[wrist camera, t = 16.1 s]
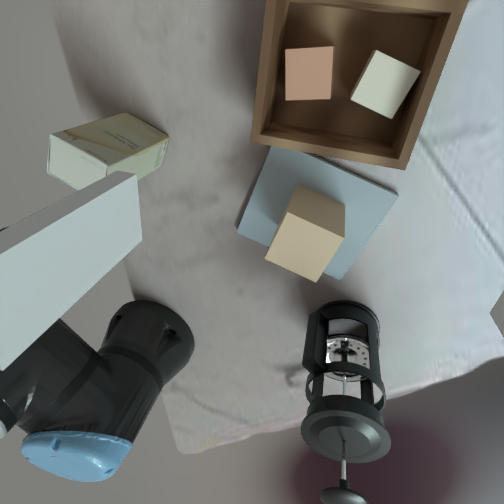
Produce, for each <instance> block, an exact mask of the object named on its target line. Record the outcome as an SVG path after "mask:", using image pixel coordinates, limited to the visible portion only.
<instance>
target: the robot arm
mask: <svg viewBox="0 0 504 504" xmlns="http://www.w3.org/2000/svg"><path fill="white" fill-rule="evenodd" d="M141 241H142V231H141V220H140V209H139V197H138V186H137V175H136V174H134V173H128V172H123V171H115V172H113V173H111V174H109V175H107V176H105V177H104V178H102V179H100V180H98V181H96V182H94V183H92V184H90V185H88V186H86V187H84V188H83V189H81V190H79V191H77V192H75V193H73V194H71V195H69V196H67V197H65V198H64V199H62V200H60V201H58V202H56V203H54V204H52V205H50V206H49V207H46V208H44V209H42V210H41V211H39V212H37V213H35V214H33V215H31V216H29V217H27V218H26V219H24V220H22V221H20V222H18V223H16V224H14V225H12V226H10V227H6V228H3V229H1V230H0V438H3V437H4V436H5V435H6V434H7V432H9V430H10V429H11V428H12V427H13V426H14V425H15V424H16V425H17V426H19V427H20V428H21V429H23V430H24V431H25V432H26V433H27V434H28V435H27V436H26V437H25V438H24V439H23V443H22V445H21V453H22V454H23V455H24V456H26V458H27V460H28V461H30V462H31V463H33V464H34V465H36V466H38V467H40V468H41V469H43V470H46V471H48V472H50V473H53V474H55V475H58V476H61V477H64V478H68V479H72V480H76V481H85V482H98V481H101V480H105V479H107V478H109V477H110V476H112V475H113V473H114V472H116V470H117V469H118V467H119V466H120V464H121V462H122V461H123V459H124V458H125V456H126V454H127V453H128V451H130V449H131V448H132V446H133V445H132V444H133V442H134V440H135V438H136V437H137V435H138V433H139V431H140V429H141V427H142V425H143V423H144V421H145V420H146V418H147V415H148V414H149V412H150V410H151V408H152V406H153V405H154V403H155V401H156V399H157V397H158V395H159V393H160V392H161V390H162V388H163V386H164V385H165V384H166V383H167V382H169V381H170V380H171V379H172V378H173V377H174V376H175V375H176V374H177V373H178V372H179V371H180V370H181V369H183V368H184V367H185V365H186V364H187V363H188V361H189V359H190V357H191V355H192V353H193V351H194V338H193V335H192V333H191V331H190V329H189V327H188V326H187V325H186V323H185V322H184V321H183V320H182V319H181V318H180V317H179V316H178V315H177V314H175V313H174V312H172V311H171V310H169V309H168V308H166V307H164V306H161V305H159V304H156V303H153V302H149V301H132V302H129V303H127V304H124V305H123V306H122V307H121V308H120V309H119V310H118V311H117V312H116V313H115V315H114V316H113V317H112V319H111V321H110V323H109V326H108V329H107V331H106V334H105V337H104V340H103V342H102V345H101V348H100V349H99V350H98V352H96V351H95V350H94V349H93V348H92V347H90V346H89V345H88V344H87V343H86V342H85V341H84V340H83V339H82V338H81V337H80V336H79V335H77V334H76V333H75V332H74V331H73V330H72V329H71V328H70V327H69V326H68V325H67V324H66V323H65V322H63V321H62V320H61V319H60V317H61V316H62V315H63V314H64V313H65V312H66V311H67V310H68V309H69V308H70V307H71V306H73V305H74V304H75V303H76V302H77V301H78V300H79V299H80V298H81V297H82V296H83V295H84V294H85V293H86V292H87V291H88V290H90V289H91V288H92V287H93V286H94V285H95V284H96V283H97V282H98V281H99V280H100V279H101V278H102V277H103V276H104V275H105V274H107V273H108V272H109V271H110V270H111V269H112V268H113V267H114V266H115V265H116V264H117V263H118V262H119V261H120V260H121V259H123V258H124V257H125V256H126V255H127V254H128V253H129V252H130V251H131V250H132V249H133V248H134V247H135V246H136V245H137V244H138V243H140V242H141ZM490 315H491V316H492V318H493V320H494V322H495V323H496V325H497V327H498V329H499V330H500V332H501V334H502V336H503V337H504V291H503V293H502V294H501V296H500V297H499V299H498V301H497V302H496V304H495V305H494V307H493V308H492V310H491V312H490Z"/></svg>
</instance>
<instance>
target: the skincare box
mask: <svg viewBox="0 0 504 504" xmlns="http://www.w3.org/2000/svg"><path fill="white" fill-rule="evenodd" d="M168 141H169V136H167V135H166V134H164V133H162V132H161V131H159V130H157V129H155V128H154V127H152V126H150V125H148V124H147V123H145V122H143V121H141V120H140V119H138V118H136V117H134V116H132V115H130V114H129V113H127V112H125V113H121V114H118V115H114V116H111V117H108V118H104V119H101V120H97V121H94V122H91V123H87V124H84V125H81V126H77V127H74V128H71V129H67V130H64V131H60V132H57V133H53V134H51V135H50V141H49V152H48V164H47V173H48V174H50V175H51V176H53V177H55V178H57V179H59V180H61V181H62V182H64V183H66V184H68V185H69V186H71V187H73V188H75V189H77V190H78V191H79V190H81V189H83V188H84V187H86V186H88V185H90V184H92V183H94V182H96V181H98V180H100V179H102V178H104V177H105V176H107V175H109V174H111V173H113V172H115V171H123V172H128V173H134V174H136V175H137V181H138V180H139V179H141V178H142V177H144V176H146V175H147V174H149V173H151V172H152V171H154V170H156V169H157V168H159V167H160V166H161V164H162V161H163V158H164V155H165V152H166V148H167V145H168Z"/></svg>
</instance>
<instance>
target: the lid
mask: <svg viewBox="0 0 504 504" xmlns="http://www.w3.org/2000/svg"><path fill="white" fill-rule="evenodd" d="M398 197H399V195H398V193H396V192H394V191H391V190H389V189H387V188H385V187H383V186H380V185H378V184H376V183H374V182H372V181H370V180H367V179H365V178H363V177H361V176H359V175H356V174H354V173H352V172H350V171H348V170H346V169H343V168H341V167H339V166H337V165H335V164H332V163H330V162H328V161H326V160H324V159H321V158H319V157H317V156H315V155H313V154H311V153H308V152H302V151H297V150H291V149H286V148H280V147H275V146H271V148H270V151H269V153H268V156H267V158H266V161H265V163H264V165H263V168H262V170H261V173H260V175H259V178H258V180H257V183H256V185H255V188H254V190H253V193H252V195H251V198H250V200H249V203H248V205H247V208H246V210H245V212H244V215H243V217H242V220H241V222H240V225H239V227H238V230H237V232H236V233H239V234H241V235H243V236H245V237H247V238H249V239H252V240H254V241H256V242H258V243H260V244H262V245H264V246H267V247H269V249H268V251H267V254H266V256H265V259H266V260H268V261H270V262H273V263H275V264H277V265H279V266H281V267H283V268H286V269H288V270H290V271H292V272H294V273H296V274H299V275H301V276H303V277H305V278H307V279H309V280H312V281H314V282H317V281H318V279H319V278H320V276H321V275H322V273H325V274H327V275H329V276H332V277H334V278H336V279H338V280H341V279H342V277H343V276H344V275H345V273H346V272H347V270H348V269H349V267H350V266H351V264H352V263H353V262H354V260H355V259H356V257H357V256H358V254H359V253H360V252H361V250H362V249H363V247H364V246H365V244H366V243H367V241H368V240H369V239H370V237H371V236H372V234H373V233H374V231H375V230H376V229H377V227H378V226H379V224H380V223H381V221H382V220H383V218H384V217H385V216H386V214H387V213H388V211H389V210H390V208H391V207H392V205H393V204H394V203H395V201H396V200H397V198H398Z"/></svg>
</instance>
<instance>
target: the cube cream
mask: <svg viewBox="0 0 504 504" xmlns="http://www.w3.org/2000/svg"><path fill="white" fill-rule="evenodd" d="M420 72H421V71H419V70H417V69H415V68H412V67H410V66H408V65H406V64H404V63H402V62H400V61H398V60H396V59H394V58H392V57H390V56H388V55H385V54H383V53H381V52H379V51H377V50H373V51H372V53H371V55H370V57H369V59H368V61H367V63H366V65H365V67H364V69H363V71H362V73H361V75H360V77H359V78H358V80H357V82H356V84H355V86H354V88H353V90H352V92H351V94H350V98H351V100H353V101H355V102H357V103H359V104H361V105H363V106H365V107H367V108H369V109H371V110H373V111H375V112H378V113H380V114H382V115H384V116H386V117H388V118H390V119H392V118H393V116H394V115H395V113H396V111H397V110H398V108H399V106H400V105H401V103H402V101H403V100H404V98H405V97H406V95H407V93H408V92H409V90H410V88H411V87H412V85H413V83H414V82H415V80H416V79H417V77H418V75H419V74H420Z"/></svg>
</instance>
